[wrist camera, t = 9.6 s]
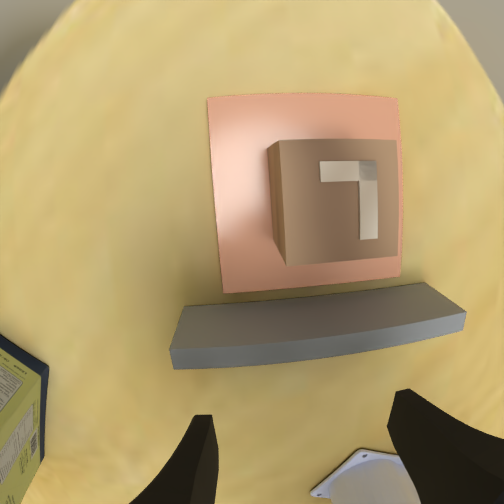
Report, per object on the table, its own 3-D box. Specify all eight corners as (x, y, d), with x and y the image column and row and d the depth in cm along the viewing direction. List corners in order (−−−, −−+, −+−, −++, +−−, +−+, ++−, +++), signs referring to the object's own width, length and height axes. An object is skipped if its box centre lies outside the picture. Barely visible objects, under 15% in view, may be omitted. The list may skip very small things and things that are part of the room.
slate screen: (425, 282, 20) (466, 311, 15) (423, 298, 20) (462, 330, 15) (184, 306, 19) (169, 349, 14) (187, 323, 20) (173, 369, 15)
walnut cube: (355, 145, 17) (398, 139, 12) (358, 233, 18) (399, 256, 13) (266, 148, 17) (279, 139, 12) (273, 239, 18) (286, 267, 13)
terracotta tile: (392, 100, 17) (397, 98, 16) (395, 273, 19) (399, 276, 19) (208, 100, 16) (207, 97, 16) (223, 289, 19) (223, 293, 18)
